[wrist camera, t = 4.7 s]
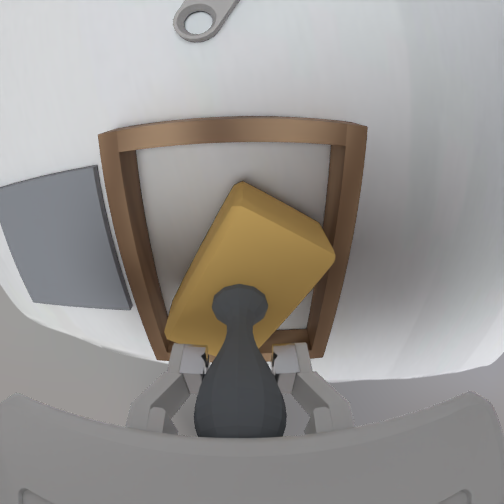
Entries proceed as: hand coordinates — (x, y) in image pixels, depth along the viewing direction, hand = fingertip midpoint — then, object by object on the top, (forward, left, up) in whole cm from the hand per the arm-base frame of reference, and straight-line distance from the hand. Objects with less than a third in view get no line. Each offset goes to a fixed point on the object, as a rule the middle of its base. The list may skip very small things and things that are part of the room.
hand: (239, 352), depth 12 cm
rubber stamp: (0, 0, -7) cm, 7 cm away
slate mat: (+15, -1, -9) cm, 18 cm away
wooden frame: (0, 0, -9) cm, 9 cm away
